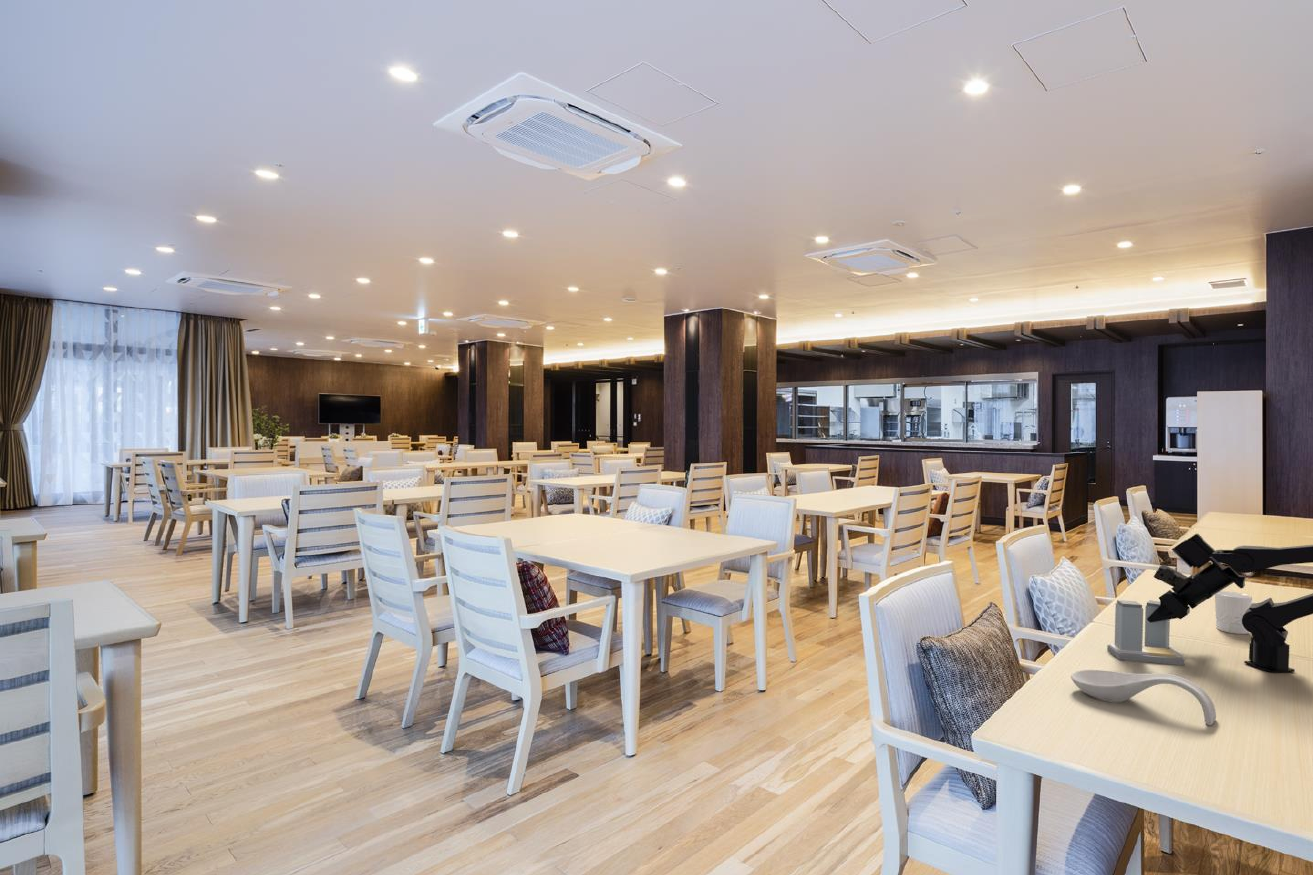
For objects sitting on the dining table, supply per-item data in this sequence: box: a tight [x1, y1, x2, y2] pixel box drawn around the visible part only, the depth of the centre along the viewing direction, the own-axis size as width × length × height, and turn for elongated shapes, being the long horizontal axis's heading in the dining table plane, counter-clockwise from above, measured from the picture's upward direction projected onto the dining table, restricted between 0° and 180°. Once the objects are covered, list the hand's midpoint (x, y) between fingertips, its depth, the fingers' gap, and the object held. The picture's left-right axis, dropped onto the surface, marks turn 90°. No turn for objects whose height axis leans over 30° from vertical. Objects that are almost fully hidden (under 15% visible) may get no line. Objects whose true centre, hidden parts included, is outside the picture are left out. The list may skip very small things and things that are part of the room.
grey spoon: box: [1070, 669, 1217, 726], centre depth 139 cm, size 24×12×7 cm, turn 44°
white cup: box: [1214, 590, 1253, 635], centre depth 192 cm, size 8×8×10 cm
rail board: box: [1106, 643, 1185, 666], centre depth 167 cm, size 14×7×2 cm, turn 76°
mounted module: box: [1114, 599, 1144, 651], centre depth 168 cm, size 4×4×11 cm
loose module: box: [1144, 599, 1171, 649], centre depth 177 cm, size 4×4×11 cm
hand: (1150, 618), depth 178 cm, fingers open, 5 cm apart
